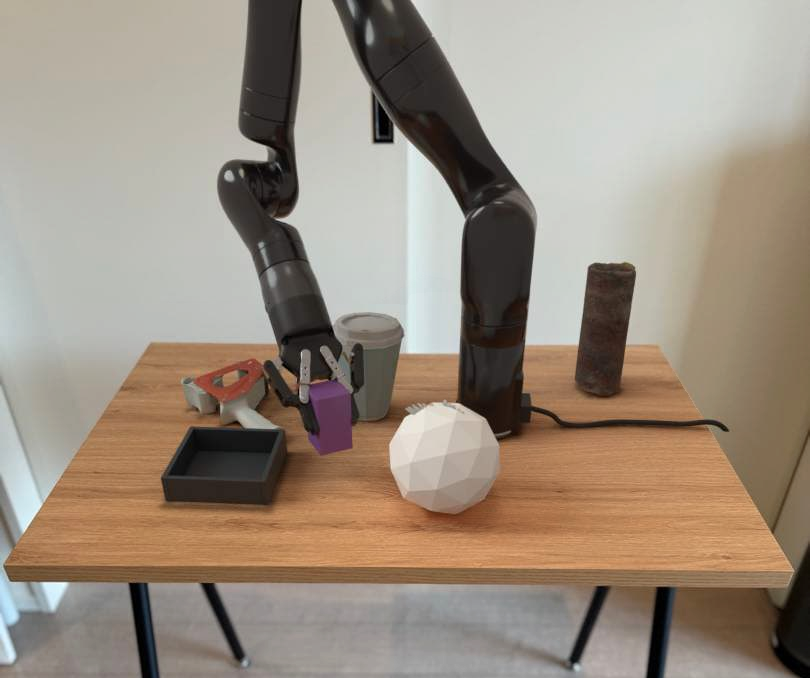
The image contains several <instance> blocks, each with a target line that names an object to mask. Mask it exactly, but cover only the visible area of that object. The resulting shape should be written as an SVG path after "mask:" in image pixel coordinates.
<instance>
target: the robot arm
mask: <svg viewBox="0 0 810 678" xmlns="http://www.w3.org/2000/svg"><path fill="white" fill-rule="evenodd" d="M331 2H332V4H333V6H334V8H335V10H336V13H337V16H338V18H339V20H340V24H341V26H342V29H343V31H344V34H345V37H346V39H347V41H348V45H349V48H350V50H351V52H352V55H353V57H354V60H355V62H356V64H357V66H358V68H359V70H360V72H361V74H362V76H363V77H364V80H365V82H366V83H367V85H368V87H370V89H371V91H372V93H373V94H374V96H375V97H376V99H377V100H378V102H379V104H380V105H381V107H382V108H383V110H384V111H385V114H386V115H387V116H388V118H389V119H390V120H391V122H392V123H393V124H394V126H395V128H397V130H398V131H399V132H400V133H401V134H402V135H403V136H404V137H405V139H407V140H408V142H409V143H410V144H411V145H413V147H414V148H415V149H417V151H418V152H420V153H421V155H422V156H424V158H426V160H428V162H429V163H430V164H432V166H433V167H434V168H435V169H436V170H437V171H438V174H440V176H441V177H442V178H443V180H444V182H445V183H446V185H447V186H448V188H449V190H450V192H451V193H452V196H453V197H454V199H455V201H456V203H457V205H458V206H459V207H458V208H459V209H460V211H461V213H462V215H463V218H464V219H465V220H464V223H463V228H462V233H461V248H460V250H461V251H460V279H459V281H460V282H459V284H460V285H459V296H460V330H459V331H460V332H459V349H458V351H459V352H458V371H457V373H458V374H457V394H456V395H457V396H456V400H455V403H459V404H461V405H463V406H465V407H466V408H468V409H470V410H472V411H473V412H475V413H477V414H478V415H480V416H482V417H484V418H485V419H486V420H487V422H488V424H489V426H490V428H491V430H492V432H493V434H494V436H495V438H496V440H500V439H504V438H508V437H510V436H518V435H519V431H520V423H521V424H530V423H531V417H532V412H533V413H537V414H541V415H544V416H546V417H549V418H550V419H552V420H553V421H554V423H556V424H557V425H559V426H561V427H565V428H569V429H584V428H585V429H586V428H597V427H605V426H607V427H608V426H619V425H620V426H626V425H627V426H631V425H633V426H658V427H660V426H661V427H682V428H683V427H696V426H714V427H717V428H719V429H720V430H721V431H722V432H725V433H729V432H730V429H729V428H728V427H727V426H726V425H725V424H724V423H722V422H721V421H718V420H715V419H708V418H707V419H696V420H686V421H685V420H683V421H679V420H661V419H659V420H658V419H627V418H625V419H622V418H620V419H619V418H618V419H617V418H616V419H606V420H597V421H591V422H569V421H565V420H562V419H561V418H560V417H559V416H558V415H557V414H556V413H554V412H553V411H550V410H548V409H545V408H542V407H537V406H533V405H532V398H531V393H530V392H523V390H524V379H525V374H524V362H525V353H526V352H525V351H526V343H527V342H526V341H527V330H528V321H529V309H530V301H531V288H532V287H531V286H532V285H531V284H532V277H533V276H532V275H533V265H534V257H535V247H536V236H537V230H538V214H537V211H536V207H535V205H534V203H533V201H532V198H531V197H530V196H529V195H528V193H527V191H526V190H525V188H524V187H523V186H522V185H521V184H520V183H519V181H518V180H517V179H516V177H515V176H514V174H513V173H512V171H511V170H510V169H509V168H508V167H507V165H506V164H505V162H504V161H503V159H502V158H501V156H500V155H499V154H498V153H497V151H496V149H495V147H494V145H492V143H491V142H490V140H489V138H488V137H487V135H486V133H485V131H484V129H483V127H482V125H481V123H480V120H479V118H478V116H477V113H476V112H475V110H474V108H473V105H472V104H471V101H470V100H469V98H468V96H467V94H466V92H465V90H464V88H463V86H462V85H461V84H462V83H460V81H459V79H458V77H457V74H456V73H455V71H454V69H453V67H452V65H451V63H450V61H449V60H448V58H447V56H446V55H445V52H444V51H443V50H442V48H441V46H440V44H439V43H438V41H437V38H436V37H435V36H434V34H433V32H432V31H431V29H430V27H429V26H428V25H427V23H426V21H425V20H424V18H423V17H422V15H421V13H420V12H419V10H418V8H417V7H416V5H415V4H414V3H413V1H412V0H331ZM302 9H303V0H247V19H246V20H247V21H246V34H245V36H246V38H245V47H244V56H243V68H242V76H241V84H240V93H239V94H240V95H239V105H238V106H239V107H238V118H237V127H238V131H239V133H240V135H241V136H243V138H245V139H247V140H248V141H251V142H253V143H256V144H257V145H260V146H264V147H265V149H266V152H267V159H266V160H256V159H242V158H241V159H240V158H234V159H230V160H227V161H226V162H225V163H224V164H222V165H221V167H220V169H219V171H218V174H217V178H216V192H217V193H216V194H217V196H218V200H219V201H218V202H219V203H220V206H221V208H222V210H223V213H224V214H225V216H226V217H227V219H228V220H229V223H230V224H231V225H232V227H233V228H234V230H235V231H236V233H237V234H238V236H239V238H240V239H241V241H242V243H243V244H244V245H245V247H246V248H247V250H248V252H249V253H250V256H251V259H252V262H253V266H254V268H255V272H256V275H257V278H258V282H259V286H260V290H261V296H262V301H263V303H264V309H265V312H266V314H267V317H268V319H269V322H270V326H271V329H272V332H273V335H274V338H275V342H276V345H277V347H278V357H277V358H275V359H272V360H271V359H266V360H265V361H263V364H262V365H263V367H262V370H261V373H262V375H263V376H264V378H265V379H266V381H267V382H268V385H269V388H270V389H271V390H272V392H273V393H274V395H275V397H276V398H277V399H278V401H279V403H280V404H281V405H282V407H284V408H295V409H297V410H298V411H299V412H298V413H299V414H300V418H301V421H302V425H303V427H304V430H305V431H306V433H308V432H311V435H312V436H313V435H317V434H318V433H319V432H320V427H319V424H318V421H317V418H316V415H315V412H314V409H313V405H312V403H309V392H308V389H309V386H310V384H312V383H313V382H315V381H329V380H336V381H337V382H340V383H341V384H342V385H343V386H344V387H345V388H346V389H347V390H348V391H349V392H350V393H351V423H352V428H353V427H355V426H356V425H357V424H358V421H359V420H358V419H359V411H358V408H357V405H356V402H355V399H354V394H355V393H358V392H359V391H360V389H361V387H363V385H364V360H363V346H362V345H361V344H360V343H356V344H355V345H354V346H348V345H342V344H341V342H340V341H339V340H338V339H337V338H336V336H335V334H334V330H333V324H332V320H331V318H330V314H329V310H328V308H327V304H326V302H325V299H324V296H323V293H322V289H321V286H320V283H319V281H318V279H317V276H316V274H315V272H314V270H313V267H312V266H311V265H312V264H311V261H310V259H309V256H308V254H307V253H308V252H307V250H306V247H305V243H304V240H303V237H302V235H301V233H300V231H299V230H298V228H297V227H296V226H294V225H292V224H290V223H287V222H284V221H282V219H286V218H287V217H289V216H291V214H292V213H293V212H294V211H295V208H296V207H297V204H298V202H299V198H300V182H299V181H300V180H299V173H298V172H299V171H298V164H297V151H296V149H297V148H296V136H295V127H296V122H297V113H298V108H299V100H300V94H301V85H302V73H303V41H302V12H303V11H302ZM341 354H342V355H343V356H344V357H345V360H346V362H348V363H350V382H351V383H349V381H348V380H347V378H346V377H345V373H344V371H343V370H342V368H341V367H340V365H339V364H338V361H339V358H340V356H341ZM282 367H283V368H284V369H285V370H287V371H288V372H289V373H290V374H291V375H293V377H295V393H296V394H295V393H294V392H293V391H292V390H291V387H290V386H289V385H288V383H287V382H286V380H285V378H284V377H283V376H282V374H283V369H282Z"/></svg>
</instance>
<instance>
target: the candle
mask: <svg viewBox="0 0 810 678" xmlns="http://www.w3.org/2000/svg"><path fill="white" fill-rule="evenodd" d="M636 278H637V270H636V266H635V265H634V264H632V263H630V262H628V261H623V262H620V263H617V262H616V263H615V262H610V263H606V262H605V263H604V262H603V263H602V262H592V263H591V264H589V265H588V266H587V272H586V280H585V281H586V282H585V290H584V297H583V306H582V315H581V322H580V323H581V324H580V331H579V339H578V348H577V355H576V363H575V371H574V374H575V375H574V382H575V383H576V384H577V385H578V387H581V388H582V389H583V390H584V391H585V392H588V393H592V394H593V395H597V396H599V397H609V396H612V395H614V394H615V393H617V392H618V391H620V387H621V383H622V382H621V381H622V376H623V369H624V362H625V353H626V346H627V339H628V332H629V326H630V319H631V312H632V305H633V300H634V299H633V298H634V291H635V285H636Z"/></svg>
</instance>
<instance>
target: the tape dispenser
mask: <svg viewBox="0 0 810 678" xmlns="http://www.w3.org/2000/svg"><path fill="white" fill-rule="evenodd" d="M263 365H264V364H263V363H261V362H260V361H259V360H257V359H256V358H254V357H253V358H248V359H244V360H240V361H237V362H235V363H232V364H230V365H227V366H224V367H222V368H219V369H217V370H214V371H211V372H208V373H205V374H202V375H199V376H197V377H194V376H192V377H187V376H186V377H184V378H182V379H181V381H180V383H181V385H182V390H183V395H184V400H185V402H186V404H187V406H189V407H190V406H192V407H193V406H194V407H195V408H197V409H198V411H199V412H200V414H202V415H208V414H214V413H216V409H217V406H218V404H219V406H220V408H219V409H220V410H219V413H220V419H221V423H222V425H224V426H227V425H230V424H232V423H233V424H234V423H235V422H239V423H240V425H241V426H242V428H256V429H284V428H283V427H282V426H281V425H277V424H274V423H273V422H272V421H271V420H270V419H267V418H265V417H264V415H263V414H260V413H258V411H257V410H256V408H257V407H258V406H259V404H260V402H261V400H262V399H263V398H264V397H268V395H269V394H270V385H269V384H268V382H267V381H266V379H265V378H264V376H263V375H262V373H261V370H262V367H263ZM235 371H236V379H237V380H236V381H234V382H233V383H231V384H230V385H227V386H224V381H223V380H224V379H223V377H224V375H227V374H229V373H233V372H235Z"/></svg>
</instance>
